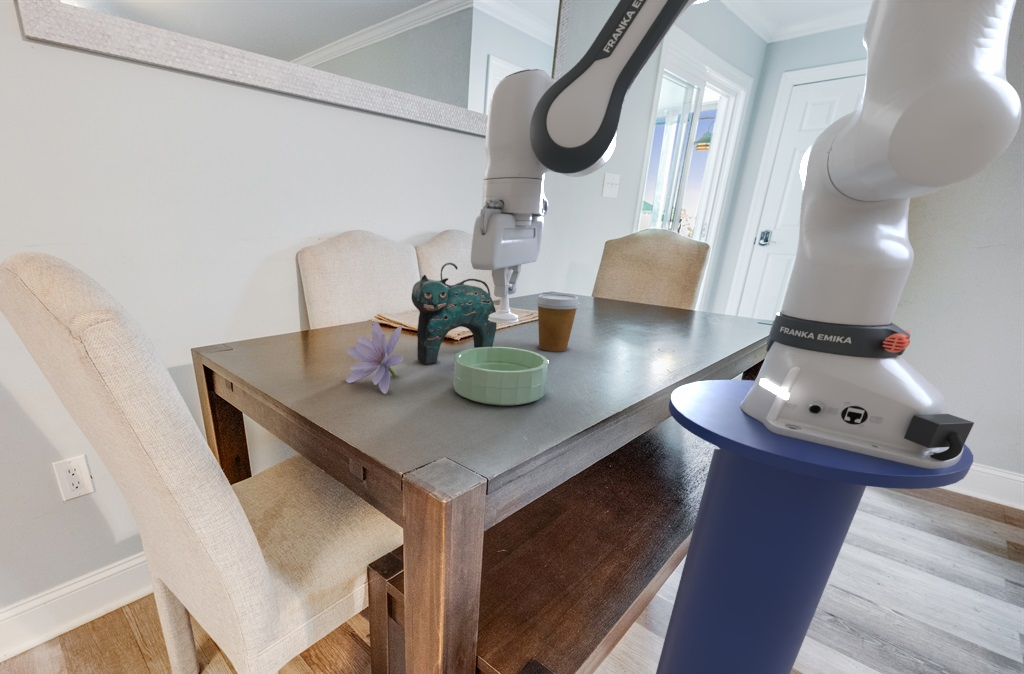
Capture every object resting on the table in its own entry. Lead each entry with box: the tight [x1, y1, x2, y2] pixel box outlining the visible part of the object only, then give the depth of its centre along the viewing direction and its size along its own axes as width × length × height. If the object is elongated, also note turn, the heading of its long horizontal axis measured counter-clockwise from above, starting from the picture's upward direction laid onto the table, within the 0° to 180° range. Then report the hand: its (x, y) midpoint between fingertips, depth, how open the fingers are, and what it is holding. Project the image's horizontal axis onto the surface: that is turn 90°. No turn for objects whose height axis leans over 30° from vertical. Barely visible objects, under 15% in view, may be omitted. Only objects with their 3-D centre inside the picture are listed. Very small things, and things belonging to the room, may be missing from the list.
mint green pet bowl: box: [453, 346, 549, 407], centre depth 79 cm, size 16×16×6 cm
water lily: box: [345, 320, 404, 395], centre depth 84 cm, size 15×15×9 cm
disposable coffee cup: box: [535, 293, 581, 352], centre depth 106 cm, size 10×10×12 cm
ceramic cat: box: [411, 262, 498, 366], centre depth 97 cm, size 20×6×20 cm, turn 119°
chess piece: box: [488, 268, 519, 324], centre depth 74 cm, size 5×5×10 cm
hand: (505, 295), depth 74 cm, fingers closed on chess piece
